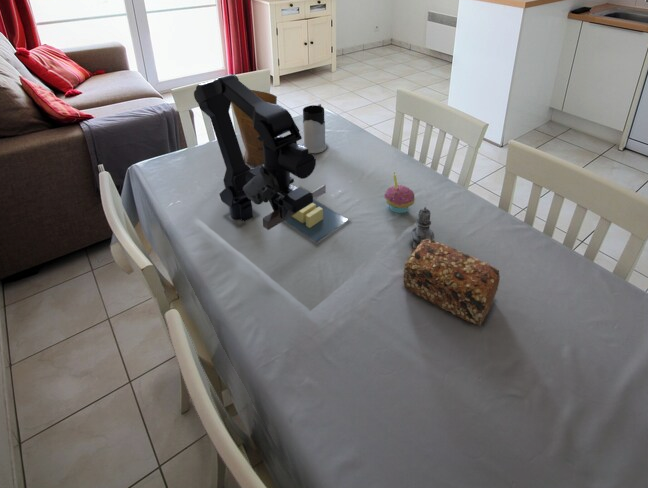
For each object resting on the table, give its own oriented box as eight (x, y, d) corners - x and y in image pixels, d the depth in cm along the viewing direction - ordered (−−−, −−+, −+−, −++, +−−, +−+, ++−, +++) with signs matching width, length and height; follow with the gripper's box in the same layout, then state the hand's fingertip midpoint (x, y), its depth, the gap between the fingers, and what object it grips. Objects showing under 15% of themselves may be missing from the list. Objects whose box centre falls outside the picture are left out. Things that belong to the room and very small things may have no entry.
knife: (263, 226, 103) (262, 218, 102) (322, 190, 117) (322, 183, 116) (268, 230, 102) (267, 221, 101) (327, 193, 116) (327, 186, 115)
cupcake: (380, 214, 121) (381, 178, 117) (389, 197, 129) (391, 163, 124) (409, 222, 118) (412, 185, 114) (417, 204, 126) (420, 169, 121)
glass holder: (299, 151, 153) (297, 113, 147) (310, 133, 166) (309, 97, 160) (323, 154, 151) (322, 115, 146) (332, 135, 164) (332, 99, 159)
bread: (497, 298, 95) (503, 263, 91) (479, 333, 87) (485, 296, 83) (422, 261, 105) (425, 228, 101) (400, 289, 97) (402, 254, 93)
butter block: (283, 211, 120) (282, 200, 119) (297, 203, 124) (296, 192, 123) (302, 223, 116) (302, 213, 114) (316, 214, 119) (316, 204, 118)
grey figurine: (432, 255, 107) (436, 216, 102) (409, 251, 108) (412, 212, 103) (433, 239, 112) (437, 201, 108) (411, 236, 113) (414, 198, 109)
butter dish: (272, 215, 120) (272, 212, 120) (304, 196, 129) (303, 193, 128) (316, 245, 109) (316, 242, 109) (348, 222, 118) (348, 219, 117)
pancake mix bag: (274, 178, 137) (268, 97, 126) (232, 161, 146) (224, 84, 136) (288, 168, 142) (284, 90, 132) (247, 152, 152) (240, 78, 141)
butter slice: (305, 225, 115) (305, 214, 114) (319, 216, 118) (319, 206, 117) (309, 228, 114) (309, 217, 113) (323, 219, 117) (322, 208, 116)
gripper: (223, 159, 99) (230, 214, 106) (274, 192, 88) (278, 251, 94) (263, 142, 107) (266, 194, 113) (314, 170, 96) (315, 226, 102)
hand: (280, 215), depth 106 cm, fingers closed on knife, 2 cm apart
